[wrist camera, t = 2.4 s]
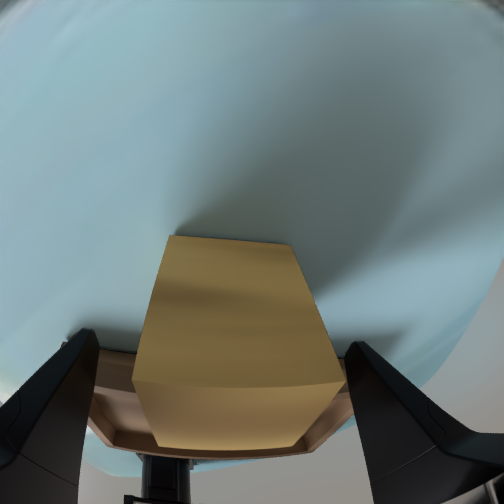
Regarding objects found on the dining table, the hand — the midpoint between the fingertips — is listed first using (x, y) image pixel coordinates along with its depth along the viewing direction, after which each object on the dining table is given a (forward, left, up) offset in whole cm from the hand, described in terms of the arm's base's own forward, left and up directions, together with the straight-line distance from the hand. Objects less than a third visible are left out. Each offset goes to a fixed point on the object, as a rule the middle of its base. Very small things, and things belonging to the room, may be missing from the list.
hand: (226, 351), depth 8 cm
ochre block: (0, 0, -3) cm, 3 cm away
